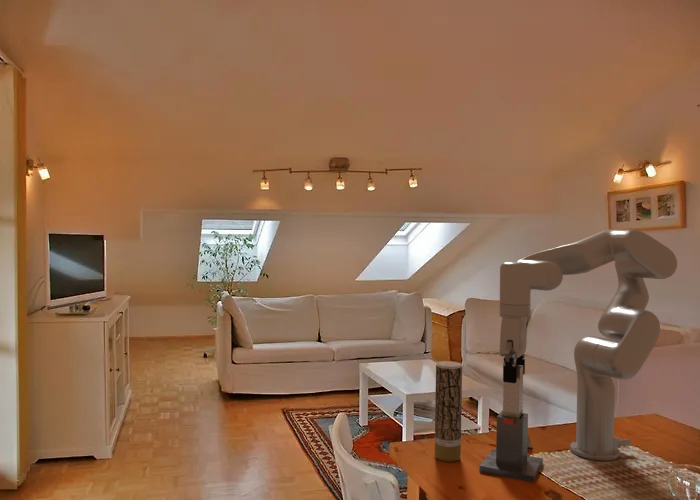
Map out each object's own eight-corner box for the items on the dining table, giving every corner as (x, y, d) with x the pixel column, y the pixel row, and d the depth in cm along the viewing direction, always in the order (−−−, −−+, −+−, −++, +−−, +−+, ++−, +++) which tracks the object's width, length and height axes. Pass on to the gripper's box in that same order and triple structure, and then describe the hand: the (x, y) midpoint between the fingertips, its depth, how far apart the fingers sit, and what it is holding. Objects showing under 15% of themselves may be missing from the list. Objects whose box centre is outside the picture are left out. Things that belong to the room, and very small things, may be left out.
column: (505, 432, 151) (507, 363, 150) (522, 435, 149) (523, 365, 148) (501, 437, 147) (503, 366, 147) (518, 440, 145) (520, 368, 145)
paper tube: (460, 463, 150) (462, 367, 150) (433, 461, 152) (435, 366, 151) (460, 454, 157) (462, 361, 156) (435, 452, 158) (436, 360, 158)
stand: (492, 454, 157) (493, 404, 157) (542, 464, 151) (543, 412, 150) (479, 471, 145) (480, 418, 145) (533, 482, 139) (534, 426, 139)
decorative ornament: (519, 449, 161) (519, 430, 161) (508, 438, 170) (508, 420, 170) (533, 449, 162) (533, 429, 162) (521, 438, 170) (522, 420, 170)
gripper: (507, 306, 157) (507, 369, 157) (491, 313, 141) (490, 384, 142) (536, 307, 153) (535, 372, 153) (523, 316, 138) (522, 387, 138)
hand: (514, 378), depth 148 cm, fingers open, 9 cm apart
